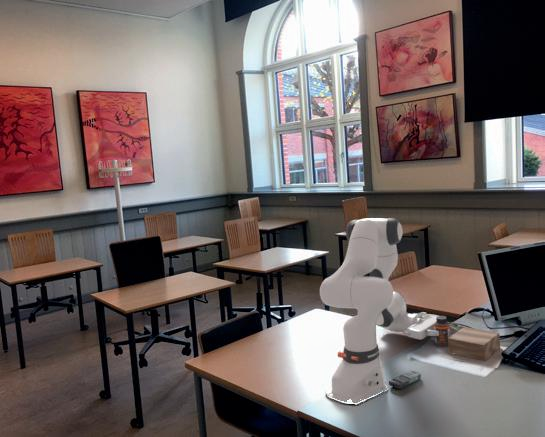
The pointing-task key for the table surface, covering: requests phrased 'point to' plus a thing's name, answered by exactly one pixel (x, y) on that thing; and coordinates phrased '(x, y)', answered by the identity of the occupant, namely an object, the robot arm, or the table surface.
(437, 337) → the supplement bottle
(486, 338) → the walnut block
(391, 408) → the table surface
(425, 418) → the table surface
